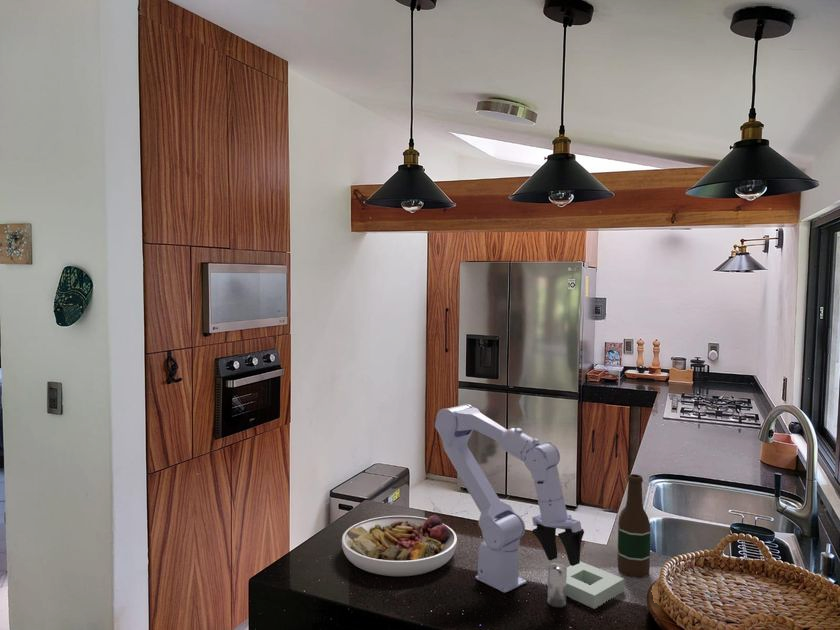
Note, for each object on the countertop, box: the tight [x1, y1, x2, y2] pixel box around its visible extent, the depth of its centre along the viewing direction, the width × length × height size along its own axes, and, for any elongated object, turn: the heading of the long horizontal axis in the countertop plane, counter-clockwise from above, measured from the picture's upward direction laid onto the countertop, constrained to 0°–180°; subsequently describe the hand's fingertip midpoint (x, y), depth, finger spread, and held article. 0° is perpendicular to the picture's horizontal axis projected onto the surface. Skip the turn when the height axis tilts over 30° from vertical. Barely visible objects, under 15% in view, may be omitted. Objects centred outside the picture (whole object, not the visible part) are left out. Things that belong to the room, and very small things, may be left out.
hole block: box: [566, 560, 625, 610], centre depth 142 cm, size 12×12×3 cm
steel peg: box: [547, 562, 567, 608], centre depth 136 cm, size 4×4×8 cm
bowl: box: [341, 514, 458, 577], centre depth 161 cm, size 30×30×8 cm
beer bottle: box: [617, 473, 651, 579], centre depth 151 cm, size 8×8×24 cm
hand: (563, 561), depth 134 cm, fingers open, 7 cm apart
